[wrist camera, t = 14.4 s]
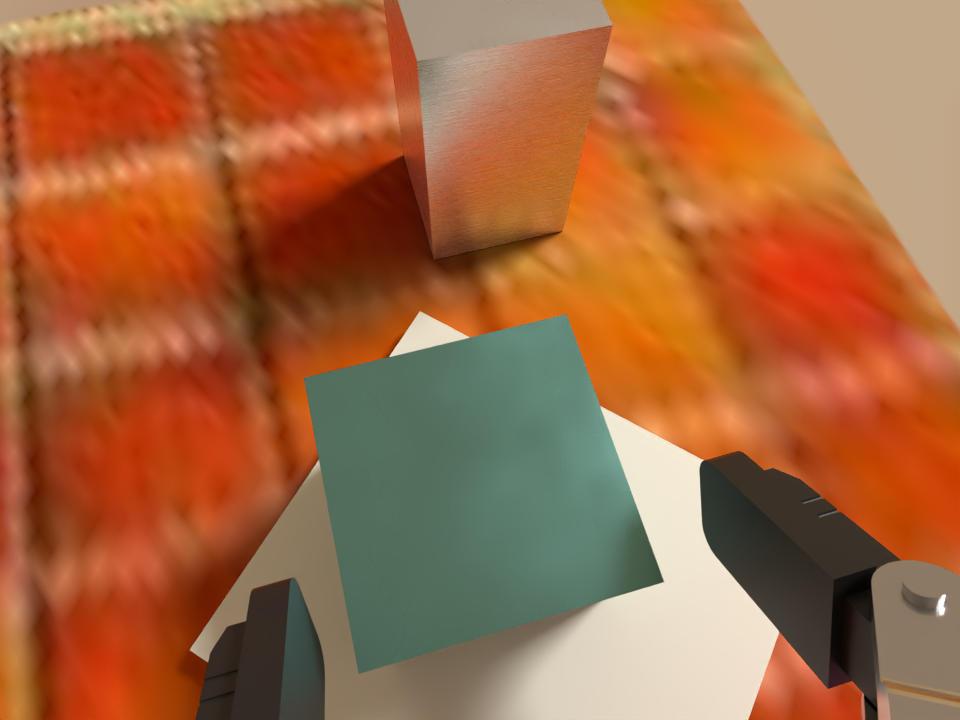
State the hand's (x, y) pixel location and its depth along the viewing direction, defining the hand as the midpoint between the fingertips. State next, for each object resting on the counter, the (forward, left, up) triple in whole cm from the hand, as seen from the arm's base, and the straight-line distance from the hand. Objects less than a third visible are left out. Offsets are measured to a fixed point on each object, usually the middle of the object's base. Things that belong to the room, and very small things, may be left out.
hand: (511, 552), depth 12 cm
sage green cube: (-1, +1, -7) cm, 7 cm away
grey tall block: (-7, +12, -8) cm, 16 cm away
